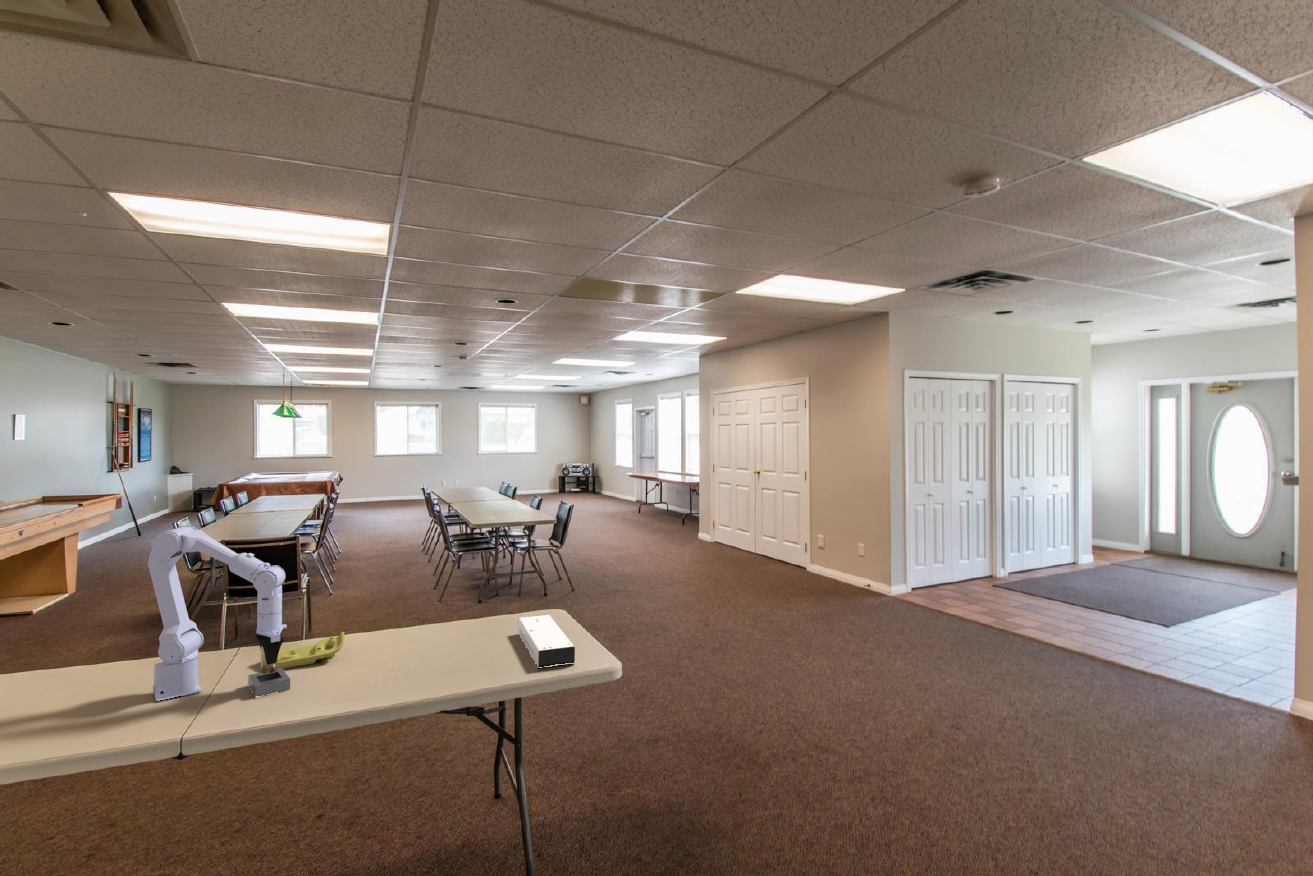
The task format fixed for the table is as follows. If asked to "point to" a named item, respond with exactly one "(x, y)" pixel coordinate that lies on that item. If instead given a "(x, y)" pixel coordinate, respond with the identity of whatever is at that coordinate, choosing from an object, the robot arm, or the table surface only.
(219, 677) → the table surface
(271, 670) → the gold metal cylinder
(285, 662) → the plastic component
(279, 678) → the frame
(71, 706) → the table surface
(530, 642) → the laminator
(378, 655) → the table surface
